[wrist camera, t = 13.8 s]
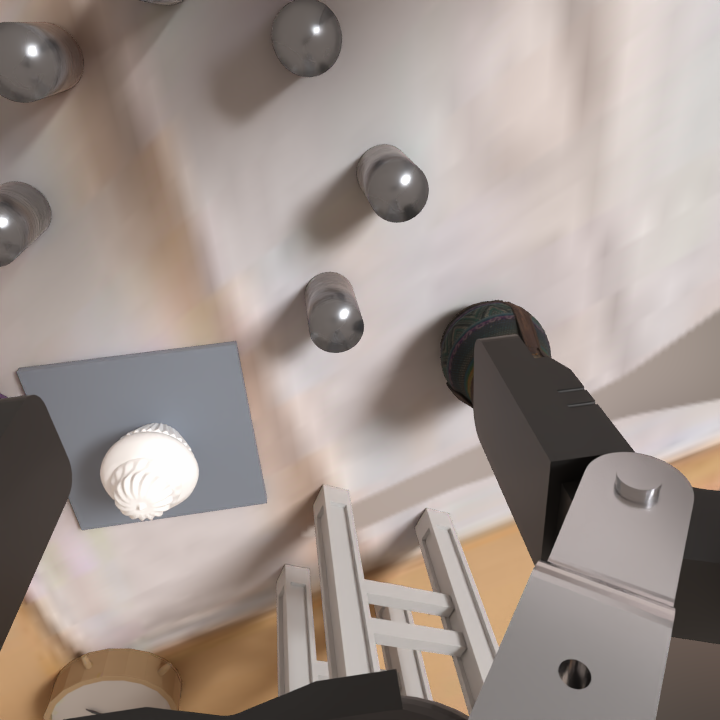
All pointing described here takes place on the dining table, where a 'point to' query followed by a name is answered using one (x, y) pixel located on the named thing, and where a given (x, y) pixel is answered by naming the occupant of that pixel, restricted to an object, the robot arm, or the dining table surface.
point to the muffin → (149, 471)
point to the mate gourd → (485, 324)
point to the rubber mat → (154, 405)
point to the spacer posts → (300, 56)
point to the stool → (381, 609)
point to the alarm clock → (114, 684)
